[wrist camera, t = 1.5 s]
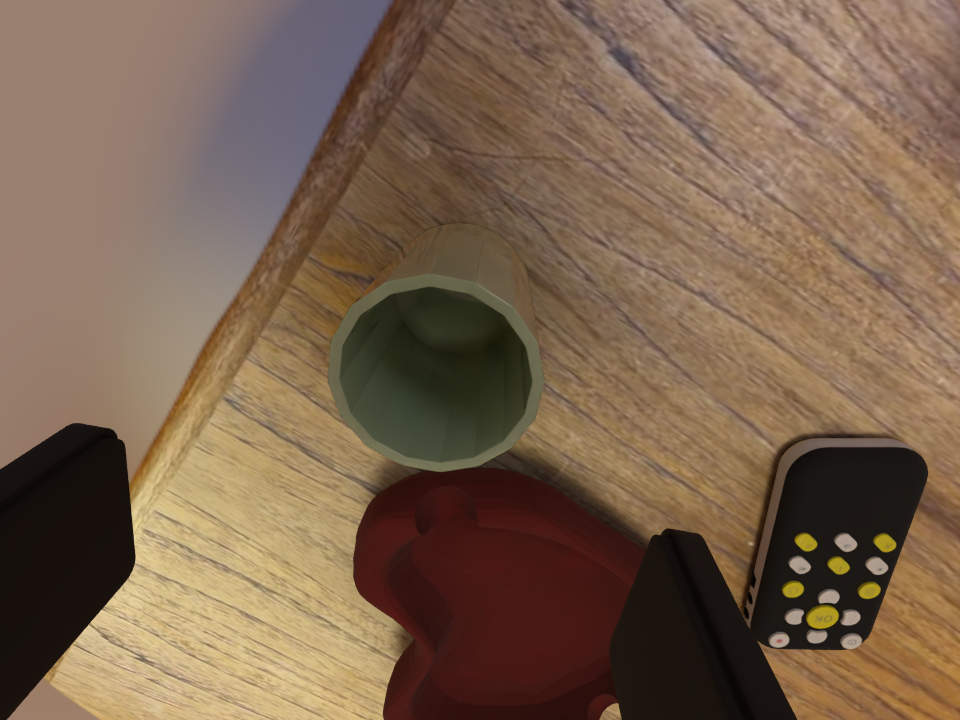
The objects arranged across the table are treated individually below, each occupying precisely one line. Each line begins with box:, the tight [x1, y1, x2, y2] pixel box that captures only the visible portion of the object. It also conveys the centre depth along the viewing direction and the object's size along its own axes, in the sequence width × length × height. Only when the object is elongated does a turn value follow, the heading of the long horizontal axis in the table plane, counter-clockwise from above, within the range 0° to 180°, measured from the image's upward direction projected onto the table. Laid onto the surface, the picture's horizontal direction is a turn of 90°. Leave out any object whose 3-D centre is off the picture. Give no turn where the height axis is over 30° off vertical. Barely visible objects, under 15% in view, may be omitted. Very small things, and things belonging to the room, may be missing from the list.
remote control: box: [744, 438, 928, 650], centre depth 27 cm, size 6×13×2 cm, turn 2°
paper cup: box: [328, 223, 545, 472], centre depth 19 cm, size 6×6×9 cm
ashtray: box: [353, 468, 646, 720], centre depth 27 cm, size 18×16×5 cm
